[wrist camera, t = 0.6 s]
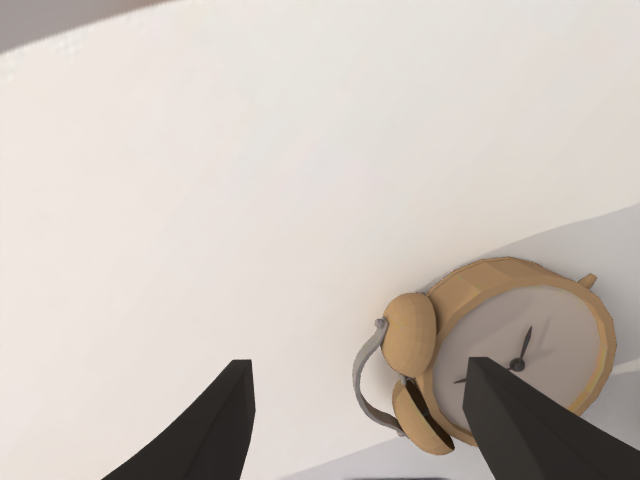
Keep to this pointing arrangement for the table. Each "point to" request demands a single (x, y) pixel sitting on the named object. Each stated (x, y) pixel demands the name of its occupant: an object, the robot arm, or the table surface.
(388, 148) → the table surface
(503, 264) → the alarm clock
